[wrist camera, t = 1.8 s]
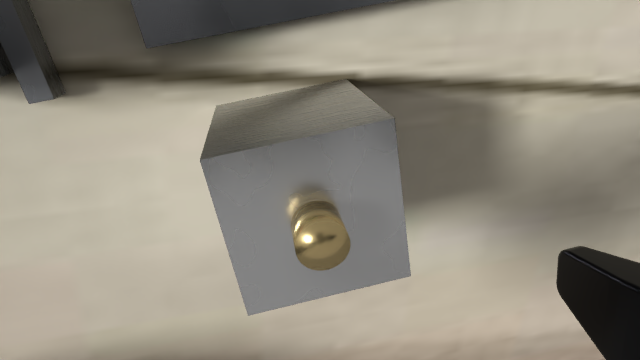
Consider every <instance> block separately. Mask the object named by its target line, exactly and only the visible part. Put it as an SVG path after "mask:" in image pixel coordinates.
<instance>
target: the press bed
mask: <svg viewBox="0 0 640 360" xmlns="http://www.w3.org/2000/svg"><path fill="white" fill-rule="evenodd" d="M389 1H394V0H131V3H132V6H133V9H134V12H135V15H136V18H137V21H138V24H139V27H140V30H141V33H142V36H143V39H144V42H145V45H146V48H151V47H156V46H161V45H167V44H172V43H177V42H182V41H187V40H192V39H198V38H203V37H208V36H213V35H218V34H224V33H229V32H234V31H239V30H244V29H249V28H255V27H260V26H265V25H270V24H275V23H280V22H286V21H291V20H296V19H301V18H306V17H312V16H317V15H322V14H327V13H332V12H337V11H343V10H348V9H353V8H358V7H363V6H369V5H374V4H379V3H384V2H389Z"/></svg>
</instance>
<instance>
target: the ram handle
mask: <svg viewBox="0 0 640 360" xmlns="http://www.w3.org/2000/svg"><path fill="white" fill-rule="evenodd" d="M11 73H14V70H13V68H12V66H11V64H10V61H9V59H8V57H7V55H6V53H5V51H4V48H3V46H2V44H1V42H0V77H1V76H5V75H8V74H11Z"/></svg>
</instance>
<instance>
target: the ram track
mask: <svg viewBox="0 0 640 360" xmlns="http://www.w3.org/2000/svg"><path fill="white" fill-rule="evenodd" d="M0 42H1V44H2V46H3V48H4V51H5V53H6V55H7V57H8V59H9V61H10V64H11V66H12V68H13V70H14V72H15V75H16V77H17V79H18V81H19V83H20V85H21V88H22V90H23V92H24V94H25V96H26V98H27V101H28V103H29V104H31V103H36V102H41V101H47V100H52V99H55V98H57V97H59V96H61V95H63V94H65V93H66V92H65V90H64V88H63V85H62V83H61V80H60V78H59V76H58V73H57V71H56V68H55V66H54V64H53V61H52V59H51V57H50V54H49V52H48V49H47V47H46V45H45V42H44V40H43V37H42V35H41V33H40V30H39V28H38V26H37V23H36V21H35V18H34V16H33V14H32V11H31V9H30V6H29V4H28V2H27V0H0Z"/></svg>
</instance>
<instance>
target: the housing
mask: <svg viewBox="0 0 640 360" xmlns="http://www.w3.org/2000/svg"><path fill="white" fill-rule="evenodd" d="M200 162H201V165H202V169H203V172H204V175H205V178H206V182H207V185H208V188H209V191H210V194H211V198H212V201H213V204H214V207H215V211H216V214H217V217H218V220H219V223H220V227H221V230H222V233H223V236H224V240H225V243H226V246H227V249H228V252H229V256H230V259H231V262H232V265H233V269H234V272H235V275H236V278H237V281H238V285H239V288H240V291H241V294H242V298H243V301H244V304H245V307H246V310H247V314H248V316H249V315H253V314H257V313H261V312H265V311H269V310H273V309H278V308H282V307H286V306H290V305H294V304H298V303H302V302H306V301H310V300H314V299H319V298H323V297H327V296H331V295H335V294H339V293H343V292H347V291H351V290H355V289H360V288H364V287H368V286H372V285H376V284H380V283H384V282H388V281H392V280H396V279H401V278H405V277H409V276H411V273H410V263H409V254H408V244H407V234H406V224H405V215H404V205H403V195H402V186H401V176H400V166H399V157H398V147H397V137H396V127H395V118H394V117H393V116H391V115H390V114H389V113H388V112H386V111H385V110H384V109H383V108H381V107H380V106H379V105H378V104H376V103H375V102H374V101H373V100H371V99H370V98H369V97H368V96H366V95H365V94H364V93H363V92H361V91H360V90H359V89H358V88H356V87H355V86H354V85H353V84H351V83H350V82H349V81H348V80H346V79H343V80H338V81H333V82H329V83H324V84H319V85H314V86H309V87H304V88H300V89H295V90H290V91H285V92H280V93H275V94H271V95H266V96H261V97H256V98H251V99H246V100H242V101H237V102H232V103H227V104H222V105H217V106H216V108H215V111H214V115H213V118H212V121H211V125H210V128H209V131H208V135H207V138H206V141H205V144H204V148H203V151H202V154H201V158H200Z"/></svg>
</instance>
